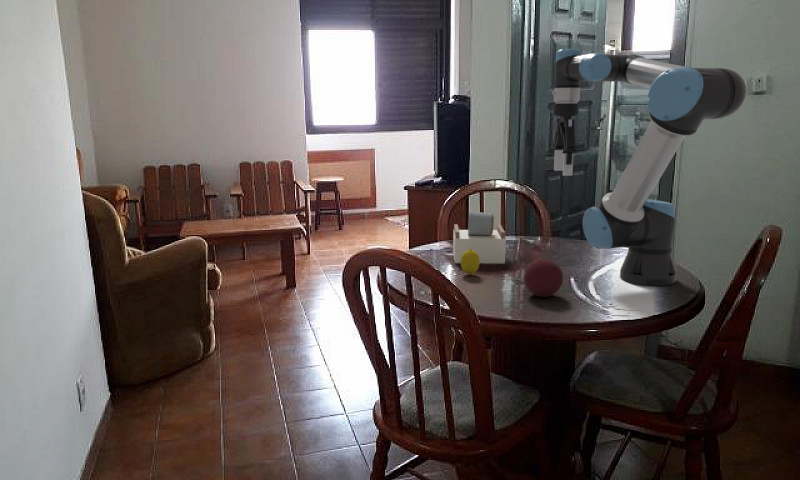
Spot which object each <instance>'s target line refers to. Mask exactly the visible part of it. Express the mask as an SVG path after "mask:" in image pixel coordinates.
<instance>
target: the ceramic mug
mask: <svg viewBox="0 0 800 480" xmlns="http://www.w3.org/2000/svg"><path fill="white" fill-rule="evenodd" d="M494 220H495V217H494V214H493V213H489V212H480V211H479V212H478V211H471V210H470V211H469V212H468V222H467V223H468V227H467V230H468V235H491V234H492V233H493V230H494V224H495V221H494Z"/></svg>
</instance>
